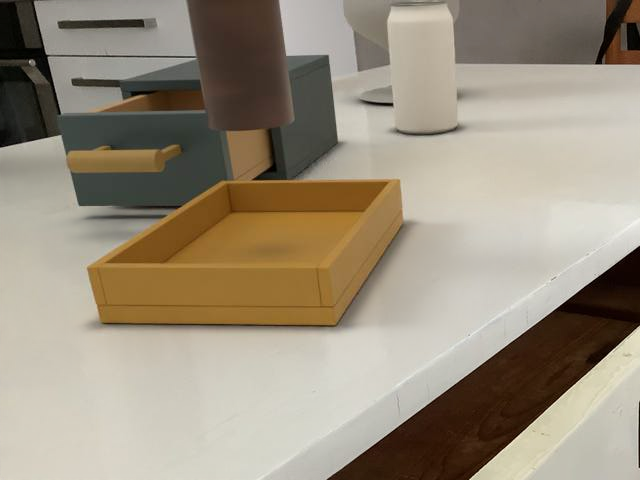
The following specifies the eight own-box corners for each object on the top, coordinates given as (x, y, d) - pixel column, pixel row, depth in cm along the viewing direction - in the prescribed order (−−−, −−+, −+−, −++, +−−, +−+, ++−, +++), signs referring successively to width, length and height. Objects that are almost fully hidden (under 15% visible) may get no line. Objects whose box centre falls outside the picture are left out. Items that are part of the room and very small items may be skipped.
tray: (100, 323, 42) (85, 267, 41) (229, 223, 58) (221, 180, 57) (336, 326, 41) (328, 267, 40) (403, 223, 56) (400, 178, 55)
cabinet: (287, 182, 68) (273, 77, 65) (140, 183, 70) (118, 81, 66) (338, 142, 82) (328, 54, 79) (214, 144, 84) (199, 58, 80)
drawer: (206, 223, 55) (188, 124, 52) (43, 224, 56) (17, 127, 54) (295, 159, 72) (285, 81, 69) (168, 160, 73) (153, 85, 70)
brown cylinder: (194, 132, 44) (146, -133, 39) (227, 116, 48) (188, -125, 43) (278, 130, 44) (241, -138, 38) (305, 114, 48) (275, -130, 43)
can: (446, 120, 90) (439, -1, 85) (467, 130, 85) (461, 1, 80) (388, 127, 88) (377, 3, 83) (405, 137, 83) (395, 5, 78)
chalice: (338, 96, 109) (325, -31, 103) (438, 86, 115) (431, -36, 108) (372, 111, 98) (360, -31, 91) (481, 99, 103) (477, -37, 96)
